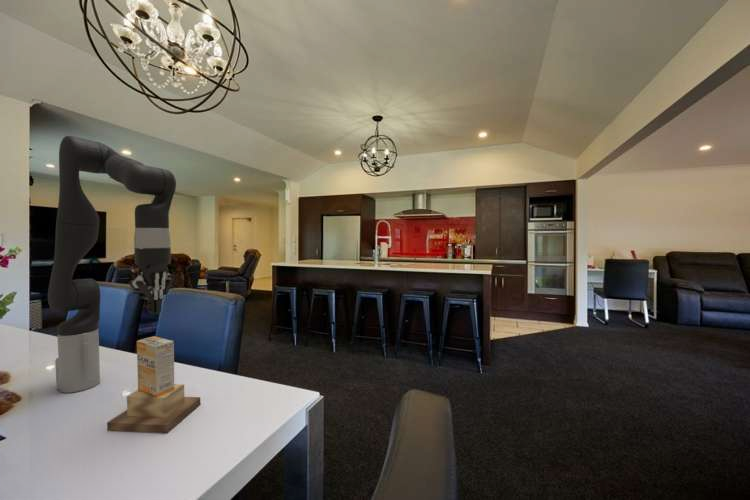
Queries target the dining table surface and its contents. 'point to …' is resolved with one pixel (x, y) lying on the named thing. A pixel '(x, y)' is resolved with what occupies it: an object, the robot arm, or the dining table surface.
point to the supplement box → (155, 365)
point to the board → (153, 419)
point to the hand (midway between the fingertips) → (154, 313)
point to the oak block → (155, 403)
